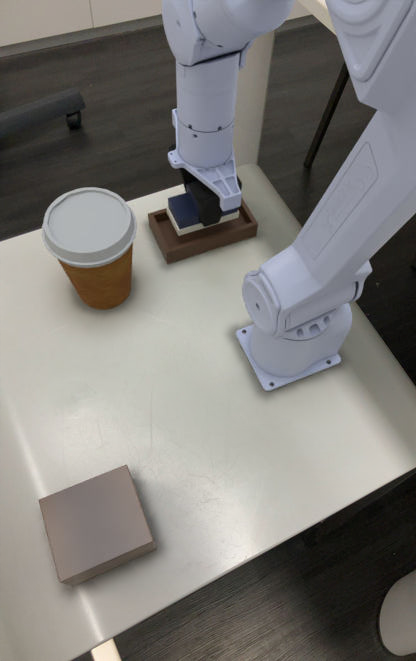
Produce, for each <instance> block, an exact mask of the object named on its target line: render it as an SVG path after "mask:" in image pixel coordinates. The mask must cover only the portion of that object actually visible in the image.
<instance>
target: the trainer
mask: <svg viewBox="0 0 416 661" xmlns="http://www.w3.org/2000/svg"><path fill="white" fill-rule="evenodd" d="M199 181H200V180H199ZM195 182H198V181H195ZM192 183H194V182H192ZM188 184H191V183H188ZM188 184H187V193H186V192H184V193H181V194H176V195H173V196H170V197H167V206H166V208H167V214H168V216H169V218H170V220H171V222H172V224H173V226H174V228H175V230H176V232H177V234H178V236H180V235H183V234H187V233H190V232H193V231H196V230H200V229H203V228H206V227H204V226H203V224H202V222H201V220H200V216H199V209H198V204H197V201H196V200H195V198H194V196H193V195H192V193H191V191H190V189H189V187H188ZM238 217H239V211H238V207H236V208H234V209H231V210H227V211H224V212H223V215H222V217H221V219H220V221H219V223H222V222H226V221H229V220H232V219H235V218H238ZM219 223H217V224H219ZM213 225H216V224H213ZM213 225H210V226H213ZM207 227H209V226H207Z"/></svg>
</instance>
